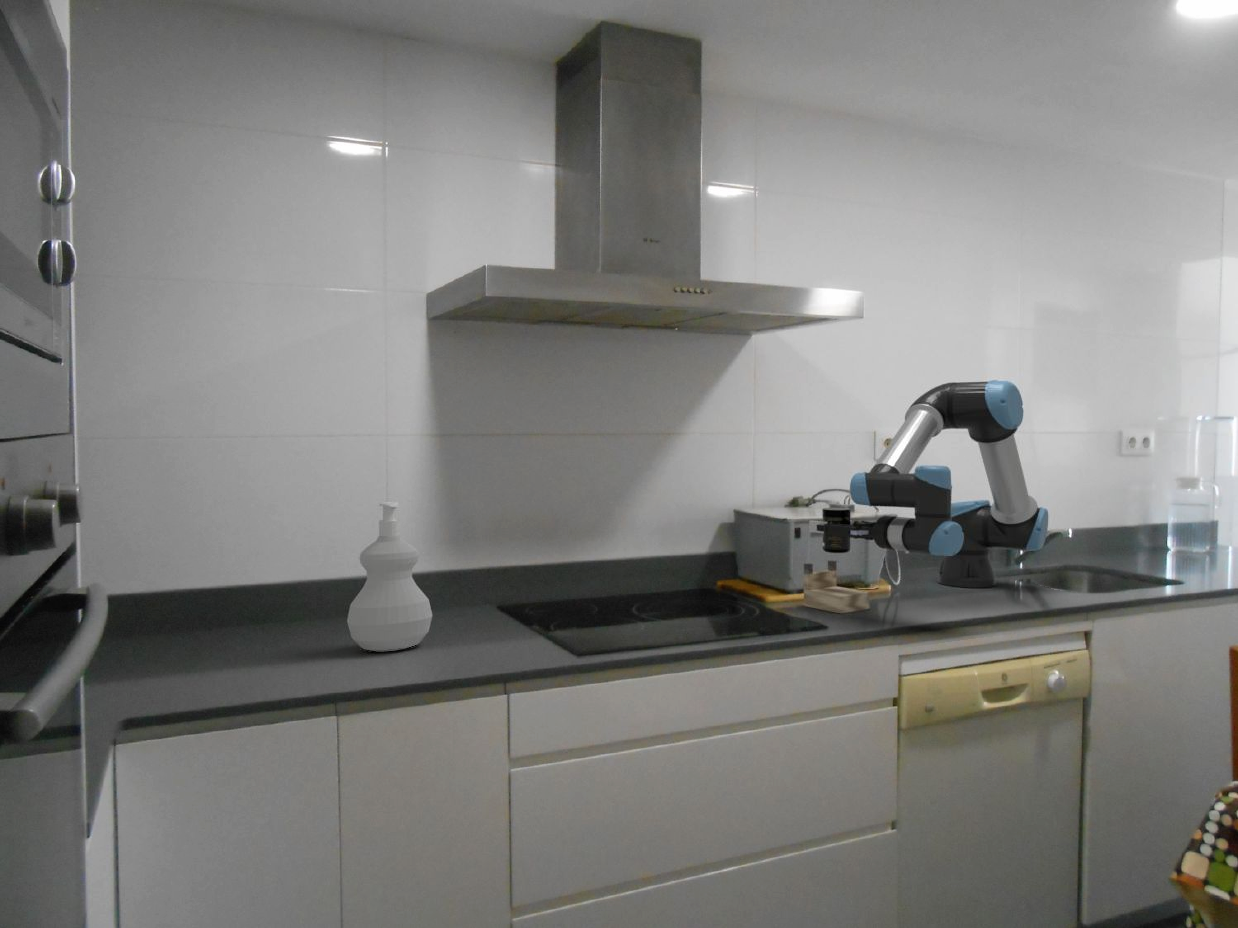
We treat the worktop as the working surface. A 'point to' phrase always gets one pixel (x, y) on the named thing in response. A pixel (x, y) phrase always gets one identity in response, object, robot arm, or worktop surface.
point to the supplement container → (836, 542)
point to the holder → (831, 591)
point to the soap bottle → (389, 592)
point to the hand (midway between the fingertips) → (820, 525)
